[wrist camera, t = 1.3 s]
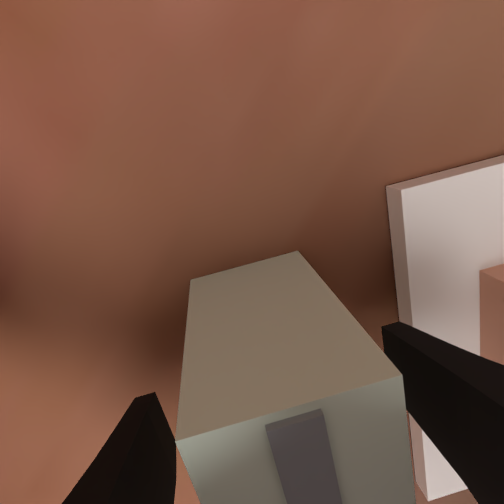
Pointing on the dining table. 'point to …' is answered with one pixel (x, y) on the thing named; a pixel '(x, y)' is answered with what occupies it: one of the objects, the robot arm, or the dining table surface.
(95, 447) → the dining table surface
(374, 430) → the striped green box
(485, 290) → the duct plate
